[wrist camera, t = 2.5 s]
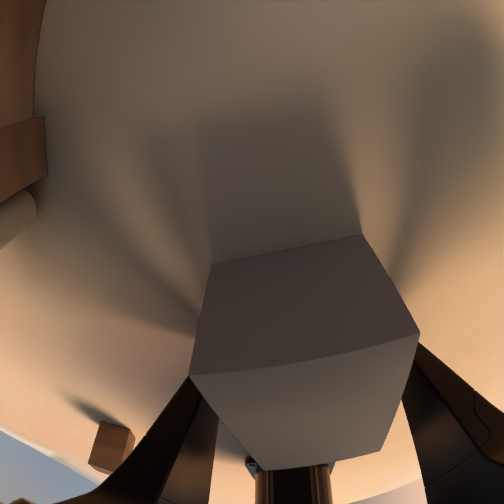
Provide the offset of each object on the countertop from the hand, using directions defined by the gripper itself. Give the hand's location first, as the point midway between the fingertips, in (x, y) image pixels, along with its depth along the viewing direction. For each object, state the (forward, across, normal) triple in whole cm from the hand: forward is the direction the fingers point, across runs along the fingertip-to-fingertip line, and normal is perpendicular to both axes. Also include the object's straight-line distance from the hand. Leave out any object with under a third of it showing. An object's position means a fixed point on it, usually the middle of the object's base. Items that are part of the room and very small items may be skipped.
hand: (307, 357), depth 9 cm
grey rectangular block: (+1, 0, 0) cm, 1 cm away
